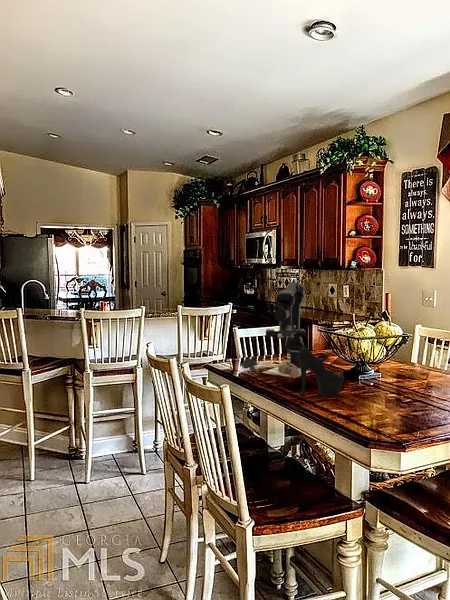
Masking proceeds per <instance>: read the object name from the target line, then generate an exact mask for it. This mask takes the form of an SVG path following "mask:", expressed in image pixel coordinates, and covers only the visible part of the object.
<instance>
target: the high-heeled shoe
mask: <svg viewBox="0 0 450 600" xmlns="http://www.w3.org/2000/svg"><path fill="white" fill-rule="evenodd" d="M297 358H298V361H299V364H298V365H299V368H300V370H301V392H300V393H301V394H300V395H301V396H305V395H306V384H307V383H306V382H307V381H306V380H307V373H306V371H308V370H309V369H310V371H311V372H313V375H314V376H315V378H316V383H317V388H318V395H319V396H320V397H324V398H328V397H330V398H332V397H336V396H338V395H339V394H340V391H341V389H342V386H343V384H344V381H345V376H344V375H343V374H340V373H338V372H335V371H333V370H332V371H330V370H329V371H328V370H327V369H326V368H325V366H324V364H323V363H324V362H325V361H326V360H328V359H329V354H322V355H317V356H315V354H314V353H312V351H310V349H309V348H307V347H306V346H304V347H303V348H302V349H301V350H300V351H299V353H298V355H297Z"/></svg>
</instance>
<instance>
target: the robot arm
mask: <svg viewBox="0 0 450 600" xmlns="http://www.w3.org/2000/svg"><path fill="white" fill-rule="evenodd" d="M305 298H306V291H305V287H304V286H301V285H300V283H299V282H293V281H292V282H288V284H287V287H286V288H285V289H284V290H281V291H279V292H278V293H277V294H276V300H275V305H274V307H275V308H277V309H275V312H274V313H273V315H274V319H275V320H276V321H277V322H279V324H278V325H279V330H275V329H274V328H267V329H265V337H267V338H273V337H274V336H277V338H278V339H280V341H281V343H282V346H283V349H284V351H285V352H286V354H289V364H293V365H299V361H298V358H297V355H298V353H299V351H300V350H301V349H302V348H303V347H305V345H304V342H303V337H307V331H306V330H305V329H304V328H301V326H300V325H301V305H302V304H303V303H304V299H305ZM285 337H286V339H285Z"/></svg>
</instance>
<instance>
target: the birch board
mask: <svg viewBox="0 0 450 600" xmlns="http://www.w3.org/2000/svg"><path fill="white" fill-rule="evenodd" d="M297 370H298V368H297ZM311 372H312V370H307V371H306V374H308V373H311ZM261 373H263V374H268V375H275V376H281V377H289V378H294V379H295V378H297V377H292V376H291V375H289V374H283V373H281V372H280V371H278V366H277V367H273V368H270V369H268V370H265V371H262V372H261ZM300 376H301V375H298V377H300Z"/></svg>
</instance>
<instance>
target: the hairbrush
mask: <svg viewBox="0 0 450 600" xmlns="http://www.w3.org/2000/svg"><path fill="white" fill-rule="evenodd" d="M241 365H242V368H243V369H249V371H250V372H257V369H256V367H255V366H258V365H259V363H258V362H257V361H256V360H255V359H253V358H249V357H246V358H245V359H243V361H242V364H241Z"/></svg>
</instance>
